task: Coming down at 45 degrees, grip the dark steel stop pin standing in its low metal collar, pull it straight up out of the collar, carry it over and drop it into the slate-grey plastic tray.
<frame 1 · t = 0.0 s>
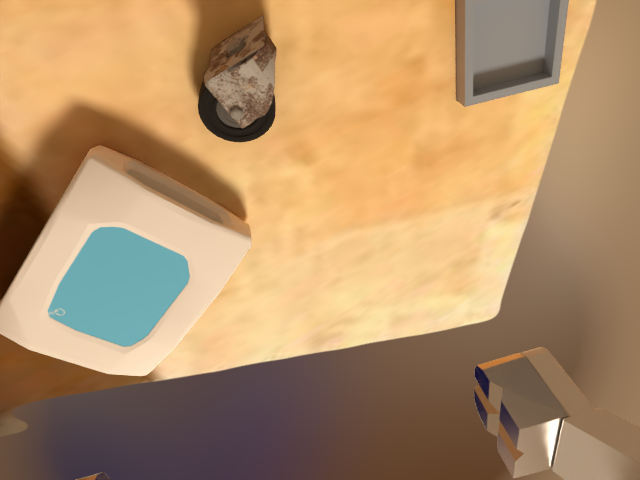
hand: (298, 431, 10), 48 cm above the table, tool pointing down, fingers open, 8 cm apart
tray: (504, 38, 56), on the table
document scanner: (127, 260, 63), on the table
caster wheel: (243, 83, 53), on the table
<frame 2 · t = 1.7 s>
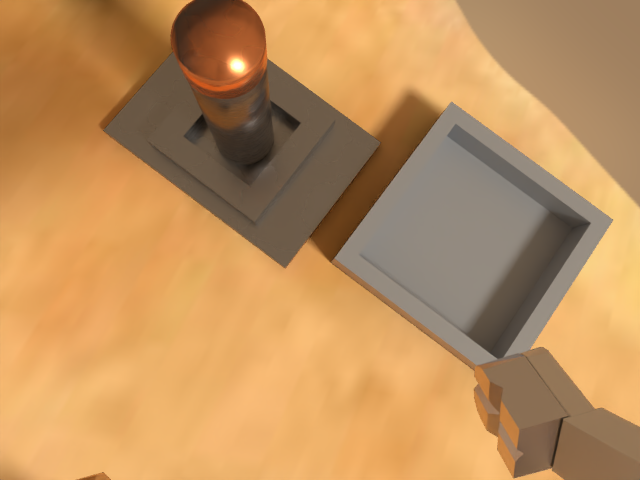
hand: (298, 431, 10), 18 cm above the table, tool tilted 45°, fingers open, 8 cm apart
stop pin: (244, 136, 30), point 1 cm above the table, touching collar plate
tray: (462, 244, 30), on the table
collar plate: (245, 139, 30), on the table
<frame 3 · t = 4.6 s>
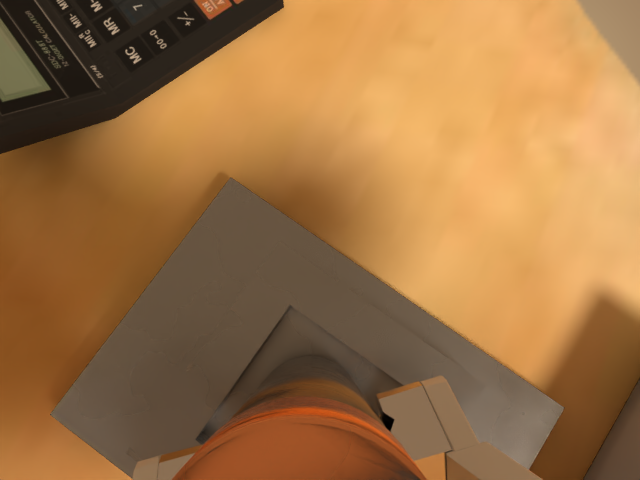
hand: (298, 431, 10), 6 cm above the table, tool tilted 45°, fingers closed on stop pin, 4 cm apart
stop pin: (309, 411, 16), point 1 cm above the table, touching collar plate, gripper
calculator: (103, 7, 20), on the table
collar plate: (309, 407, 16), on the table
when the fingers open (9 cm above the table, at t = 9.2 s): stop pin drops 2 cm, resting on tray.
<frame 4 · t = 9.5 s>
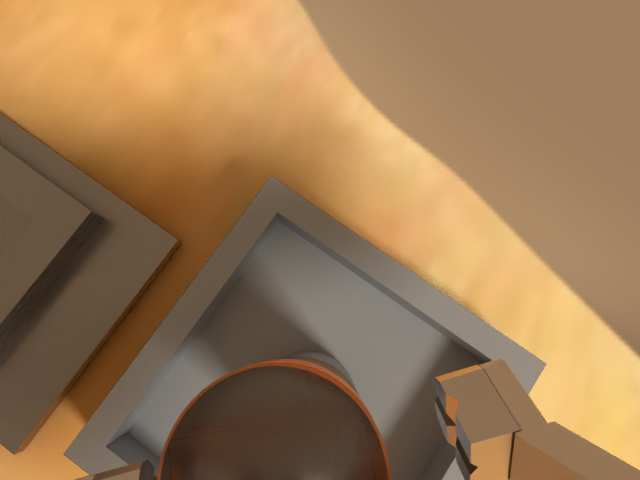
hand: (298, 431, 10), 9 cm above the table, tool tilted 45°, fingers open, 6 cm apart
stop pin: (308, 398, 18), point 1 cm above the table, touching tray
tray: (310, 396, 19), on the table
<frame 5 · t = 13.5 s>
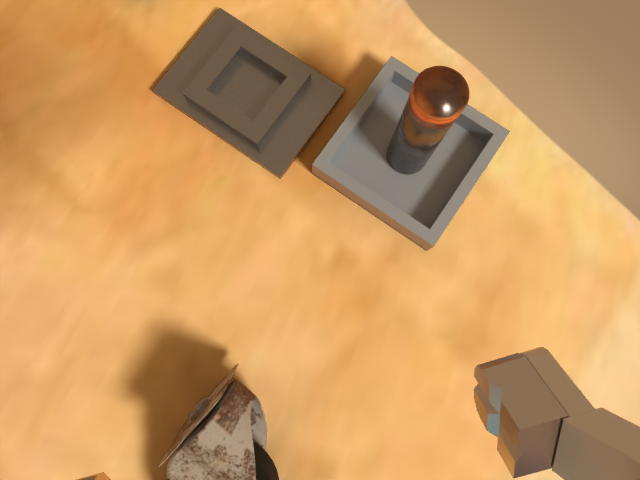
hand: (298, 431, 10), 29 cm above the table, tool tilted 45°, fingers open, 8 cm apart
stop pin: (406, 155, 42), point 1 cm above the table, touching tray
tray: (406, 157, 42), on the table
collar plate: (249, 92, 43), on the table
caster wheel: (235, 459, 38), on the table
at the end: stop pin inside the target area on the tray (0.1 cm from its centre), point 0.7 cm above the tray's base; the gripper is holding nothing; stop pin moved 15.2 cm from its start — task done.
